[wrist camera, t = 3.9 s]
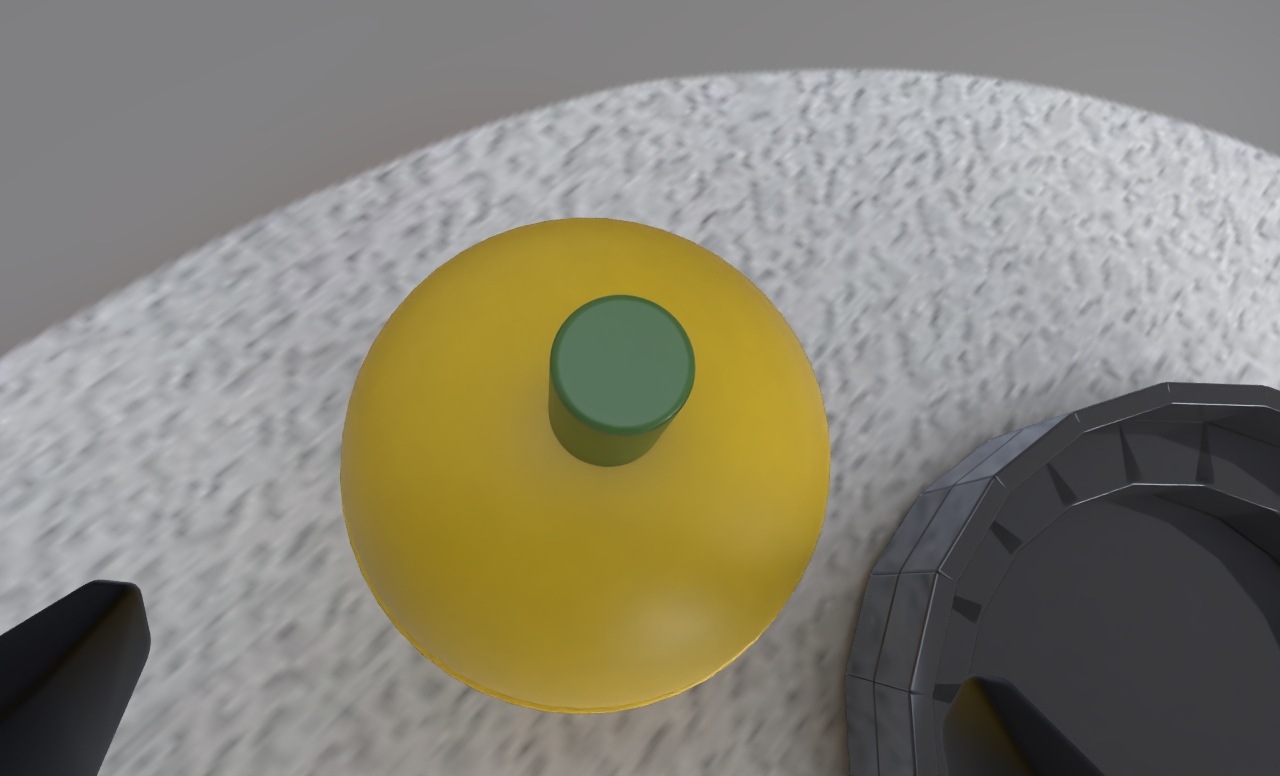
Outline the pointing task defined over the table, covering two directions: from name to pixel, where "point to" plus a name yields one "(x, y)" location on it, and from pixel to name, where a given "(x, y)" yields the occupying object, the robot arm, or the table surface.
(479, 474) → the pepper
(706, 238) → the table surface
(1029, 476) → the dark grey frying pan
